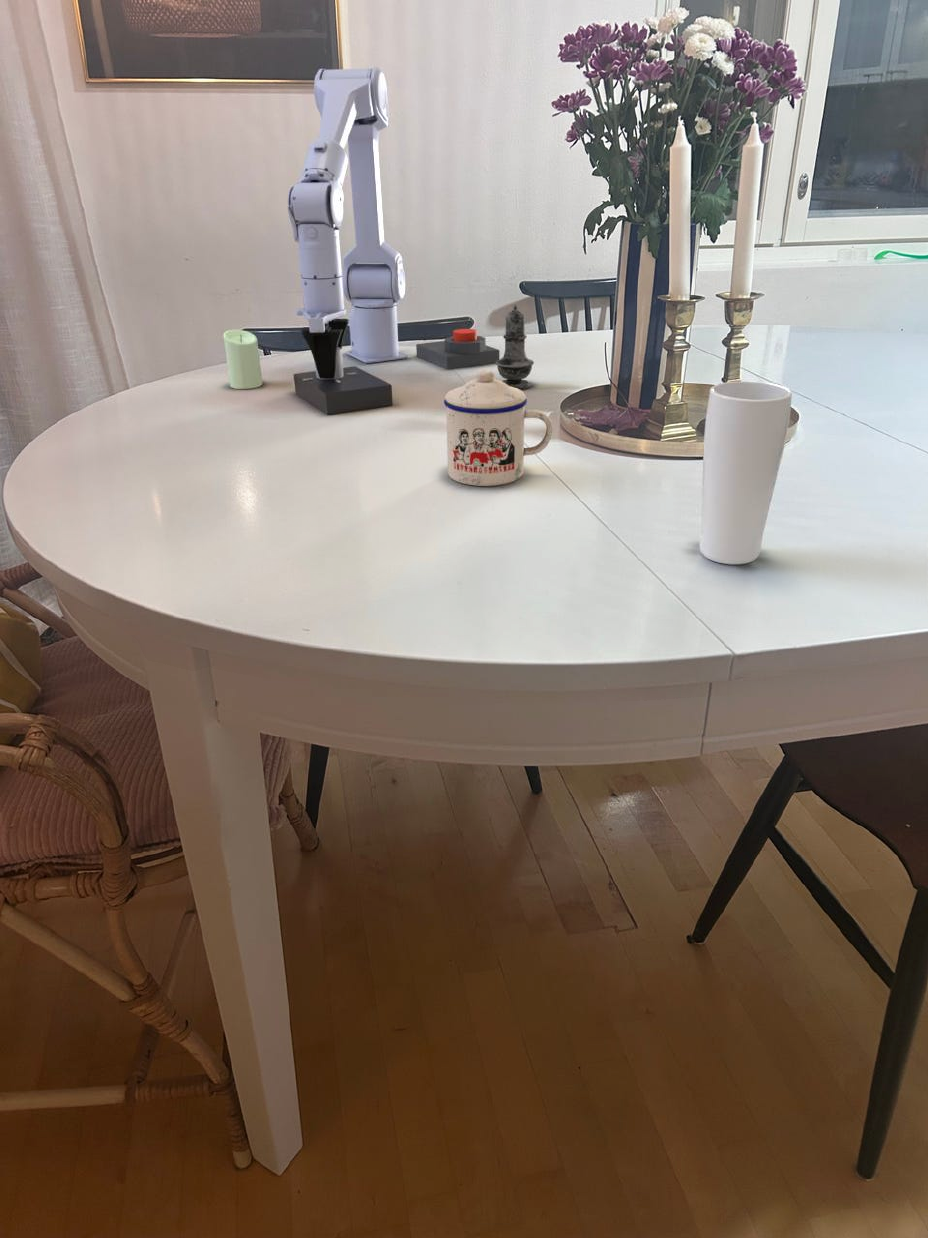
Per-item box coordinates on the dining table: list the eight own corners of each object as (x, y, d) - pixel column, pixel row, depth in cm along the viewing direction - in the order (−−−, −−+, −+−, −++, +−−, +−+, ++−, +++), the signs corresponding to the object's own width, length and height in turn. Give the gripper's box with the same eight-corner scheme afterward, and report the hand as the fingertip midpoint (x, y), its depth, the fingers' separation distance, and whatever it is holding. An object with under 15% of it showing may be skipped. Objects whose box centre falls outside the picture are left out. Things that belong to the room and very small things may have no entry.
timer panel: (294, 393, 137) (292, 372, 136) (356, 385, 141) (355, 364, 140) (326, 415, 126) (324, 392, 125) (392, 405, 130) (391, 383, 129)
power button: (449, 340, 153) (449, 330, 153) (469, 338, 155) (469, 327, 154) (460, 344, 150) (460, 333, 149) (481, 342, 152) (481, 331, 151)
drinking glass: (681, 542, 85) (698, 382, 78) (751, 538, 86) (774, 379, 79) (704, 572, 79) (724, 401, 72) (779, 568, 80) (807, 398, 73)
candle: (269, 384, 142) (262, 331, 139) (242, 391, 139) (235, 336, 135) (250, 380, 145) (243, 327, 142) (223, 386, 142) (216, 332, 138)
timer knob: (312, 375, 134) (309, 346, 132) (337, 372, 136) (335, 343, 134) (321, 381, 131) (319, 350, 129) (347, 377, 133) (345, 347, 131)
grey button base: (416, 356, 159) (415, 333, 157) (466, 350, 163) (466, 327, 161) (448, 370, 150) (448, 345, 148) (500, 363, 154) (501, 339, 152)
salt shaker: (534, 381, 142) (535, 301, 136) (532, 390, 137) (534, 307, 131) (496, 380, 143) (496, 301, 137) (494, 389, 137) (494, 307, 132)
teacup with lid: (443, 487, 99) (440, 381, 94) (447, 461, 107) (445, 362, 102) (552, 488, 99) (556, 380, 93) (549, 461, 107) (552, 361, 101)
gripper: (303, 270, 134) (311, 363, 140) (282, 284, 121) (293, 386, 127) (350, 269, 133) (356, 363, 140) (335, 283, 121) (343, 385, 127)
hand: (329, 374), depth 133 cm, fingers closed on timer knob, 4 cm apart
